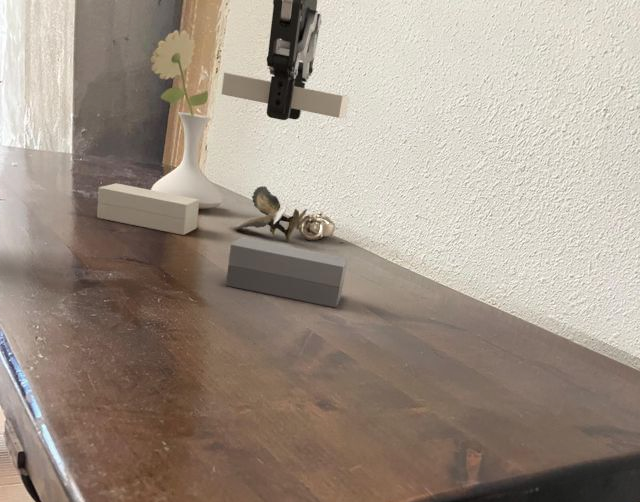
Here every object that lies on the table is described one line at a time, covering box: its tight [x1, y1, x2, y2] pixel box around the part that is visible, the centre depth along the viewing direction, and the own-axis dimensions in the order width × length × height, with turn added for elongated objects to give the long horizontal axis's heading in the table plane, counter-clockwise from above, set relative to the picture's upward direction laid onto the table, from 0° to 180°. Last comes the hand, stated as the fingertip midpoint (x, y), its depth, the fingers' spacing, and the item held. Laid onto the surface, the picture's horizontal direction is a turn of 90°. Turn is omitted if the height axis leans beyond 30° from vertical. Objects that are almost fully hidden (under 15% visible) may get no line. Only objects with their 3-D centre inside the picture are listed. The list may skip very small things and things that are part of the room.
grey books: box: [225, 236, 349, 309], centre depth 80 cm, size 12×5×4 cm, turn 83°
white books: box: [96, 182, 199, 236], centre depth 101 cm, size 12×6×4 cm, turn 83°
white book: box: [220, 72, 350, 119], centre depth 76 cm, size 12×6×2 cm, turn 82°
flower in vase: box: [150, 29, 223, 210], centre depth 115 cm, size 13×11×25 cm
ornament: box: [295, 211, 336, 241], centre depth 113 cm, size 8×7×4 cm
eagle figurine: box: [233, 185, 308, 243], centre depth 108 cm, size 8×7×9 cm
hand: (283, 117), depth 77 cm, fingers closed on white book, 6 cm apart
